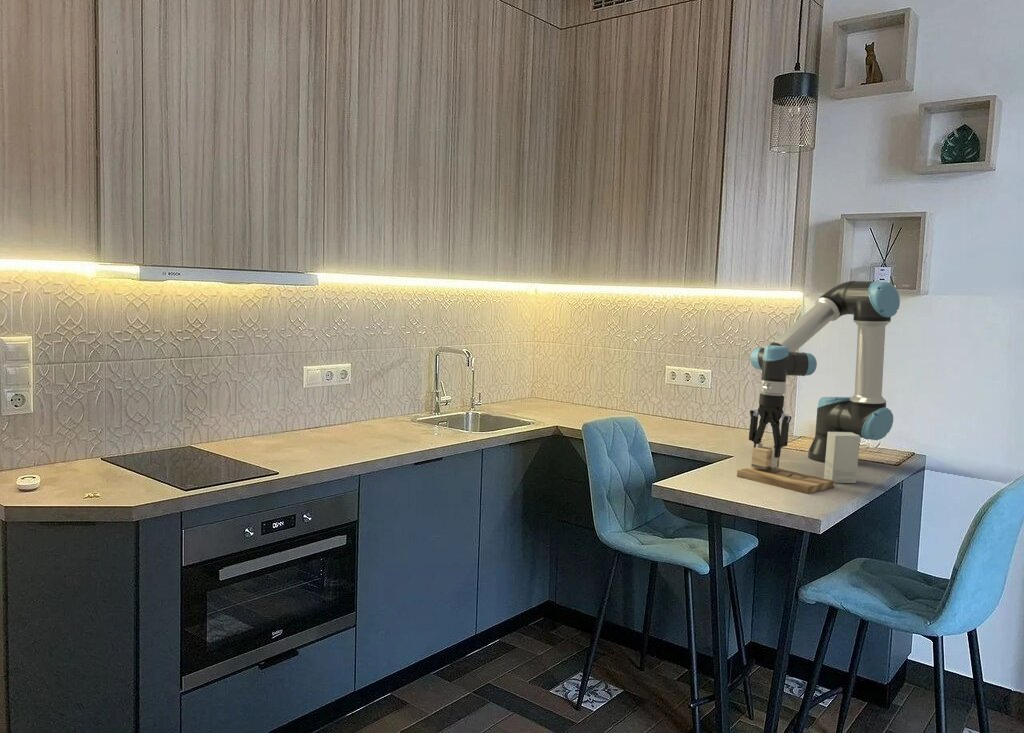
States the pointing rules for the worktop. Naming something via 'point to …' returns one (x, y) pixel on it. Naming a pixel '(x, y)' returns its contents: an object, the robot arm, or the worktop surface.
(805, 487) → the board
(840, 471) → the skincare box
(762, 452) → the block
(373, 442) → the worktop surface
